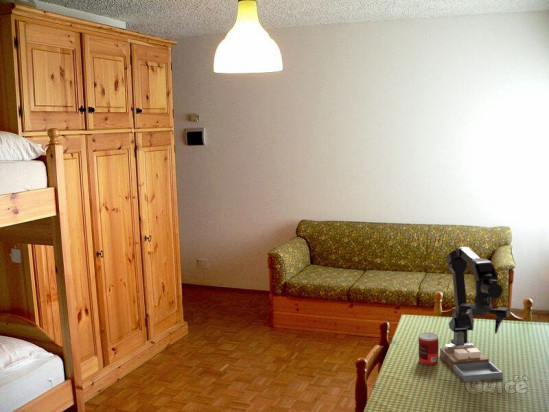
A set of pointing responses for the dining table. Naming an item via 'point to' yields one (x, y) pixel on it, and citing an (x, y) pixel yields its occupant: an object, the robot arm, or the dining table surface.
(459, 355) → the tile
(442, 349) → the plate
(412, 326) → the dining table surface
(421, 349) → the canned food
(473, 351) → the tile
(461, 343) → the scraper
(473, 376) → the box
